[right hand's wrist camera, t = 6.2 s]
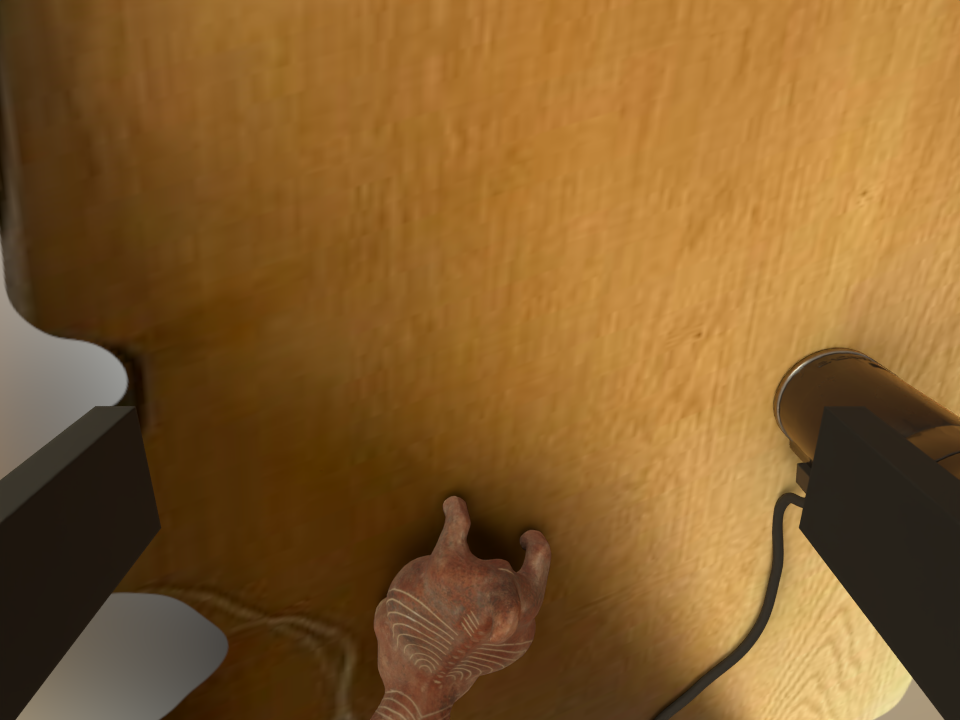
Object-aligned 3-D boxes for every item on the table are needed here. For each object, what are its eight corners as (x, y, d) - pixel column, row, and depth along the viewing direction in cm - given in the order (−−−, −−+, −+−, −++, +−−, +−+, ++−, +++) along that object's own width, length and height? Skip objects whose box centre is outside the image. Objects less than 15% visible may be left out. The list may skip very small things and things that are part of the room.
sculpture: (333, 661, 67) (294, 806, 53) (437, 475, 59) (424, 588, 45) (453, 706, 70) (447, 857, 56) (570, 533, 62) (596, 658, 48)
